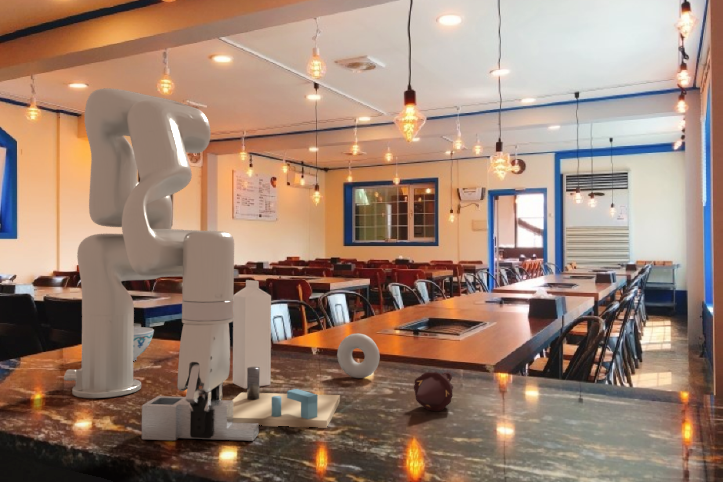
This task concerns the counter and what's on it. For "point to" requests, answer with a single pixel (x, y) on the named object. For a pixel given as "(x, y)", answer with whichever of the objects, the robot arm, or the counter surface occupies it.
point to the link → (173, 420)
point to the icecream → (434, 390)
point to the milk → (251, 333)
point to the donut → (369, 351)
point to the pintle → (253, 383)
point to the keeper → (304, 397)
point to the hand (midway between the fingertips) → (206, 432)
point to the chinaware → (141, 340)
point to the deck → (282, 411)
